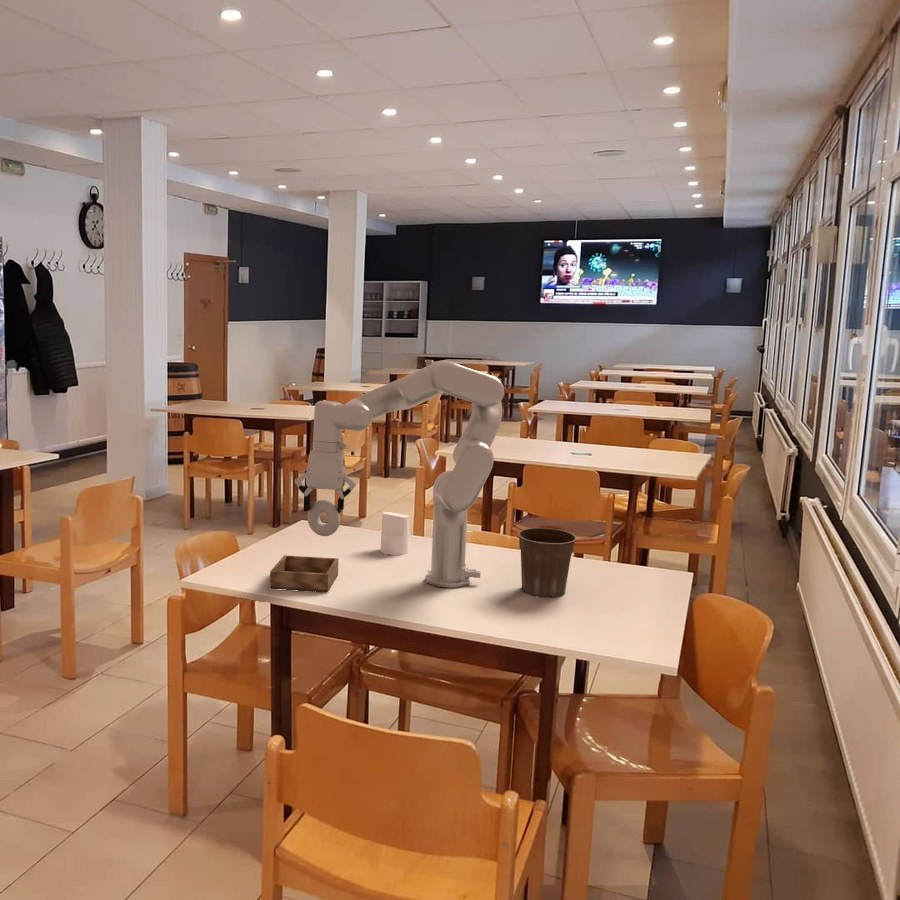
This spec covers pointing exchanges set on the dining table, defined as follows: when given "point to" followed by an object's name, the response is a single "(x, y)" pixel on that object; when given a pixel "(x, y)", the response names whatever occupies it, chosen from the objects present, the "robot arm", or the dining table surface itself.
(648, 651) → the dining table surface
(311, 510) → the donut
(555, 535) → the plant pot
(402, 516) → the white block
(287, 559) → the walnut box
